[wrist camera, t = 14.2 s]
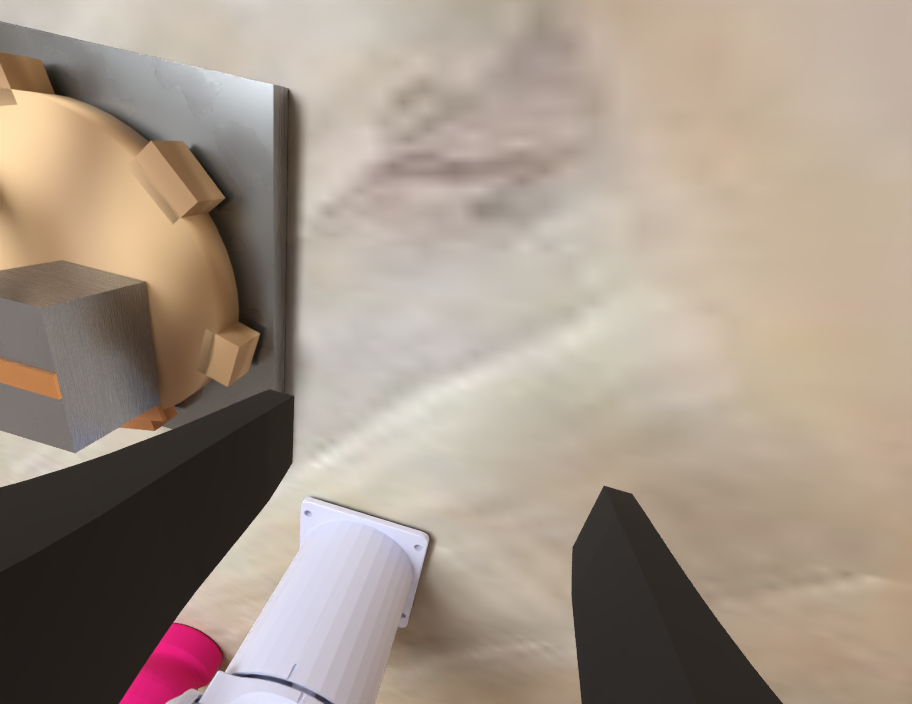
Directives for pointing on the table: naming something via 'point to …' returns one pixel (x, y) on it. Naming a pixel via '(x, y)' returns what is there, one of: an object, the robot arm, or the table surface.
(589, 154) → the table surface
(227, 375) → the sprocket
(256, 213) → the plate
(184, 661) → the pepper mill
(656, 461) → the table surface
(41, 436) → the link block
